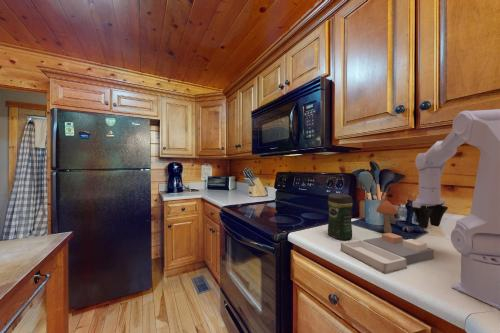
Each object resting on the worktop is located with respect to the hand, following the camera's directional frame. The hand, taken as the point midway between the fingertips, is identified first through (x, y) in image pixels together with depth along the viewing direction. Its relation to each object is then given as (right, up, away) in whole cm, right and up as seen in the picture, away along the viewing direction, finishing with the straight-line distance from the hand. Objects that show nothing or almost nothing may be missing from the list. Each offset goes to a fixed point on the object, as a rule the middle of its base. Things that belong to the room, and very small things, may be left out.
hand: (429, 226), depth 70 cm
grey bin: (-23, -9, -4) cm, 25 cm away
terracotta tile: (-10, -6, +4) cm, 13 cm away
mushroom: (-1, -9, +20) cm, 23 cm away
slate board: (-11, -9, 0) cm, 15 cm away
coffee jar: (-24, -9, +16) cm, 31 cm away
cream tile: (-7, -6, -3) cm, 10 cm away
